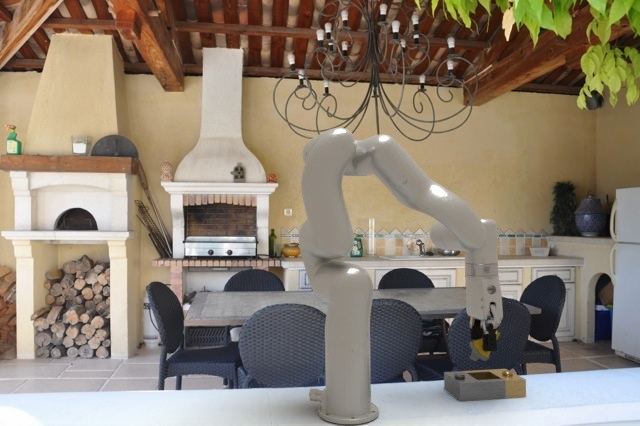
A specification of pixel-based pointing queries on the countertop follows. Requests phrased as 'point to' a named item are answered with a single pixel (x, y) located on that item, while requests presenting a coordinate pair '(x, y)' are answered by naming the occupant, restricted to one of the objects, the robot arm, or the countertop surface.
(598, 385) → the countertop surface
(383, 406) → the countertop surface
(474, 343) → the yellow tiered cone
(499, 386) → the metal strike plate
